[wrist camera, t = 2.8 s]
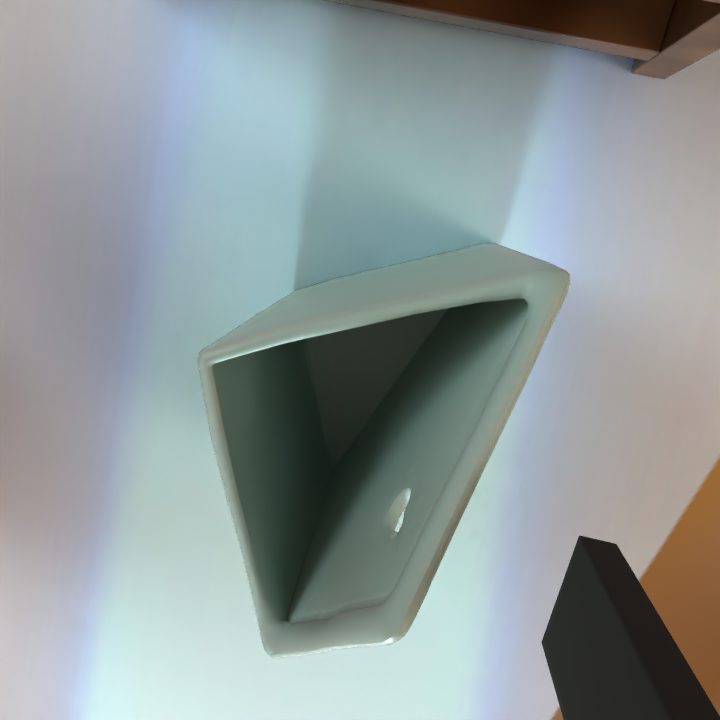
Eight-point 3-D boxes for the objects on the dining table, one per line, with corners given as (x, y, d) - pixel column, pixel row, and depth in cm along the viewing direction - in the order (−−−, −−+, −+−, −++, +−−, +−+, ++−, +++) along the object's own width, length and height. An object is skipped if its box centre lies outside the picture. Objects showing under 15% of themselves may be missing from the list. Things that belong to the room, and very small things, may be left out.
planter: (375, 159, 27) (285, 35, 8) (502, 248, 28) (690, 319, 9) (221, 408, 32) (-68, 695, 13) (333, 481, 32) (216, 860, 13)
